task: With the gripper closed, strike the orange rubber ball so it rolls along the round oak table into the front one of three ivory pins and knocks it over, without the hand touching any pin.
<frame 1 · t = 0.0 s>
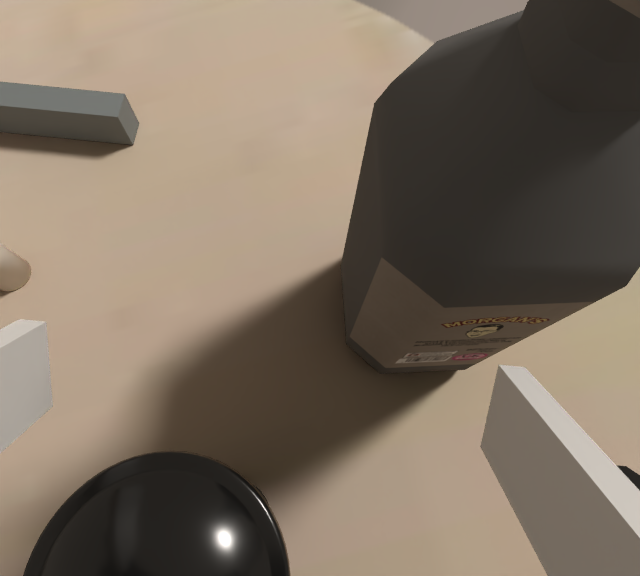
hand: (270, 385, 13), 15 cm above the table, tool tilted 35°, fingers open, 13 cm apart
pin 2: (12, 274, 30), on the table
drinking cup: (228, 524, 26), on the table
back wall: (30, 123, 34), on the table
liquor: (409, 306, 31), on the table
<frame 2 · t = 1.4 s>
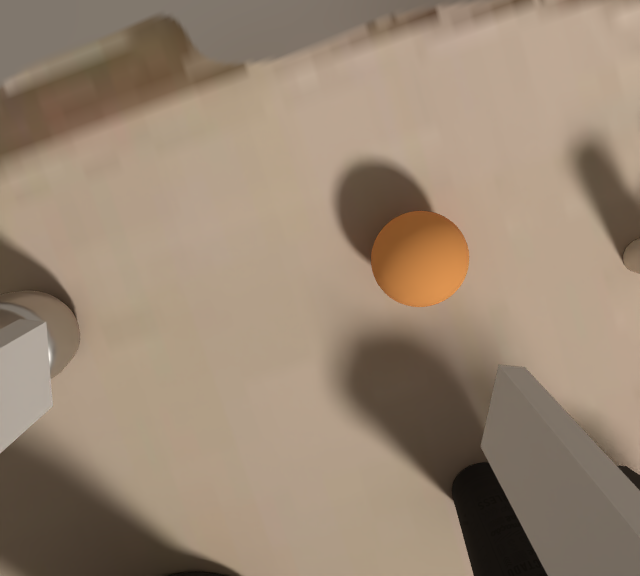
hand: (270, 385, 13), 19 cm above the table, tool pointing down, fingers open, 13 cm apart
drinking cup: (480, 486, 37), on the table
ball: (419, 259, 29), on the table
plastic bottle: (47, 325, 33), on the table
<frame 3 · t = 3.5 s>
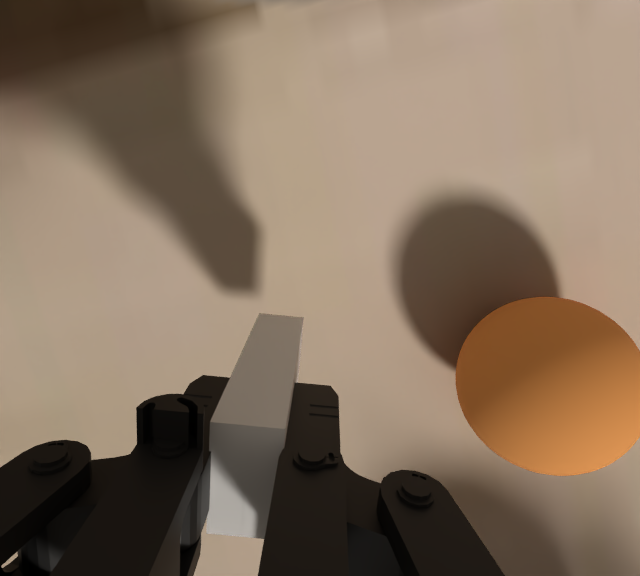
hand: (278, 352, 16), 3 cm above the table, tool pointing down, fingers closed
ball: (545, 382, 16), on the table
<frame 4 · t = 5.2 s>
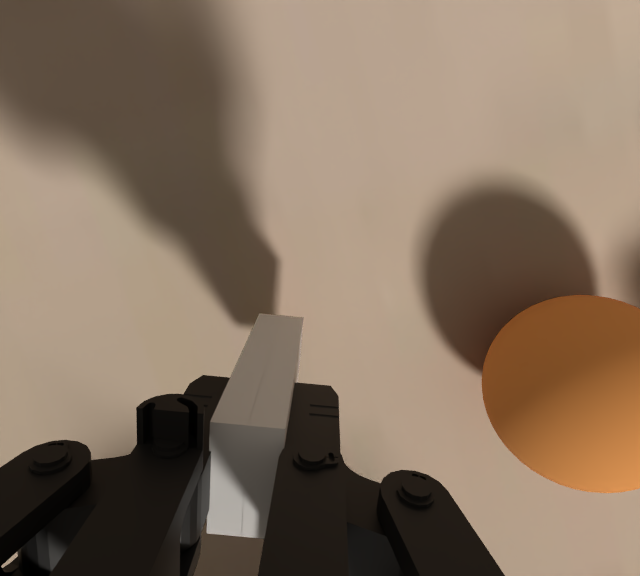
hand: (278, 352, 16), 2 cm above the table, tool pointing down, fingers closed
ball: (582, 389, 14), on the table
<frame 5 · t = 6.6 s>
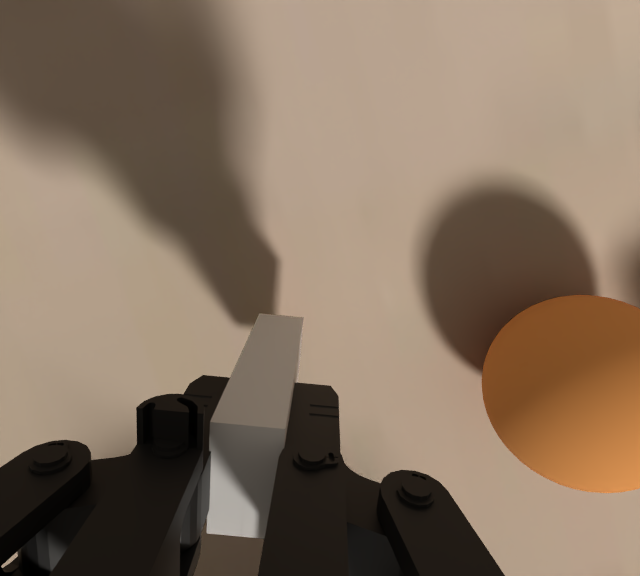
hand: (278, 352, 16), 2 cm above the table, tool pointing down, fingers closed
ball: (582, 389, 14), on the table
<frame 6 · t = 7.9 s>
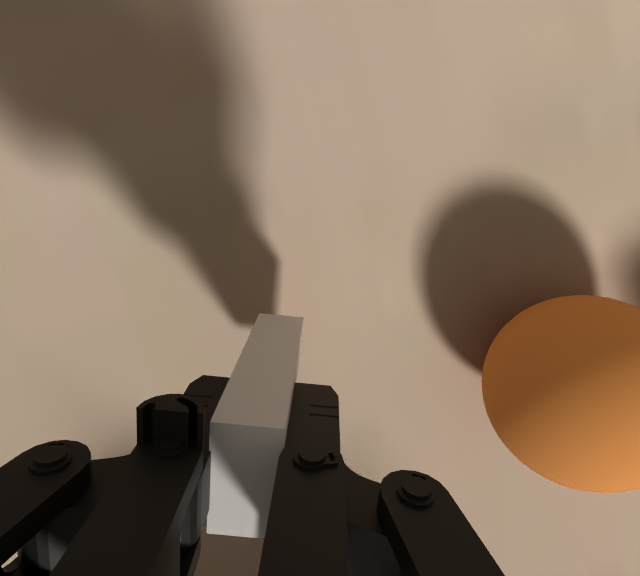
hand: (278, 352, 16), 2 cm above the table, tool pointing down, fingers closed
ball: (582, 389, 14), on the table
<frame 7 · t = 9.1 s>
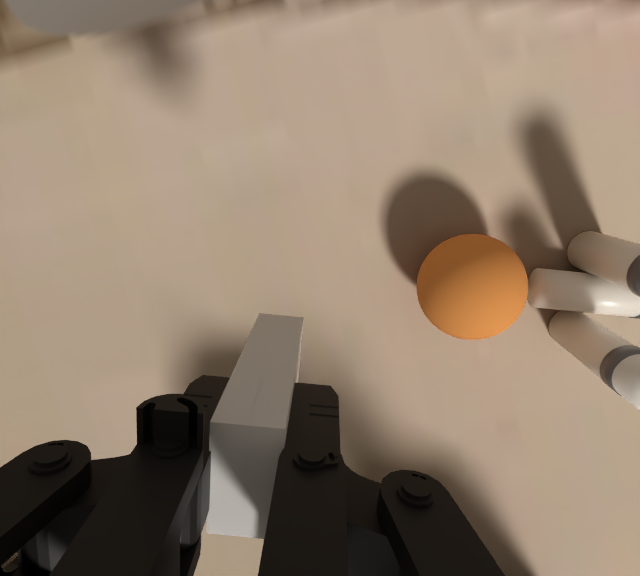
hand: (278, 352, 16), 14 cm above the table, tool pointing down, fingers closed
pin 2: (567, 325, 30), on the table
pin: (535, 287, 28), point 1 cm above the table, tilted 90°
ball: (470, 286, 26), on the table
pin 1: (586, 250, 28), on the table
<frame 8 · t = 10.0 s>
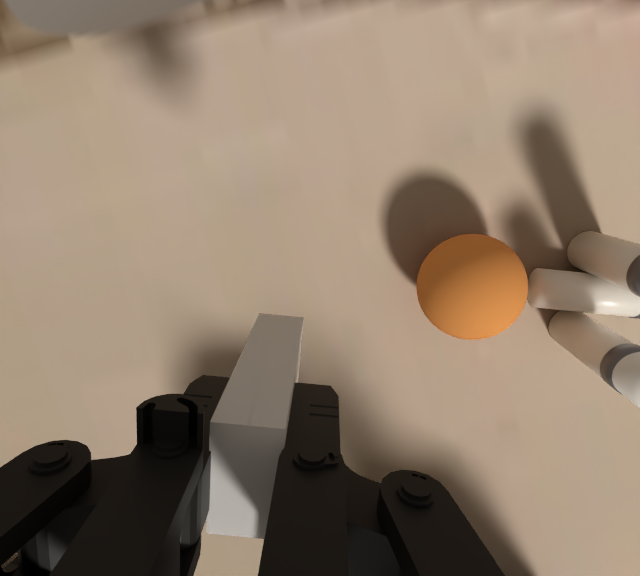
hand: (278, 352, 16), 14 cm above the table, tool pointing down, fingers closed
pin 2: (567, 325, 30), on the table
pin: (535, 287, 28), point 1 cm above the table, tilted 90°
ball: (470, 286, 26), on the table
pin 1: (586, 250, 28), on the table
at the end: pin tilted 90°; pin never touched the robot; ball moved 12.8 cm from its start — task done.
